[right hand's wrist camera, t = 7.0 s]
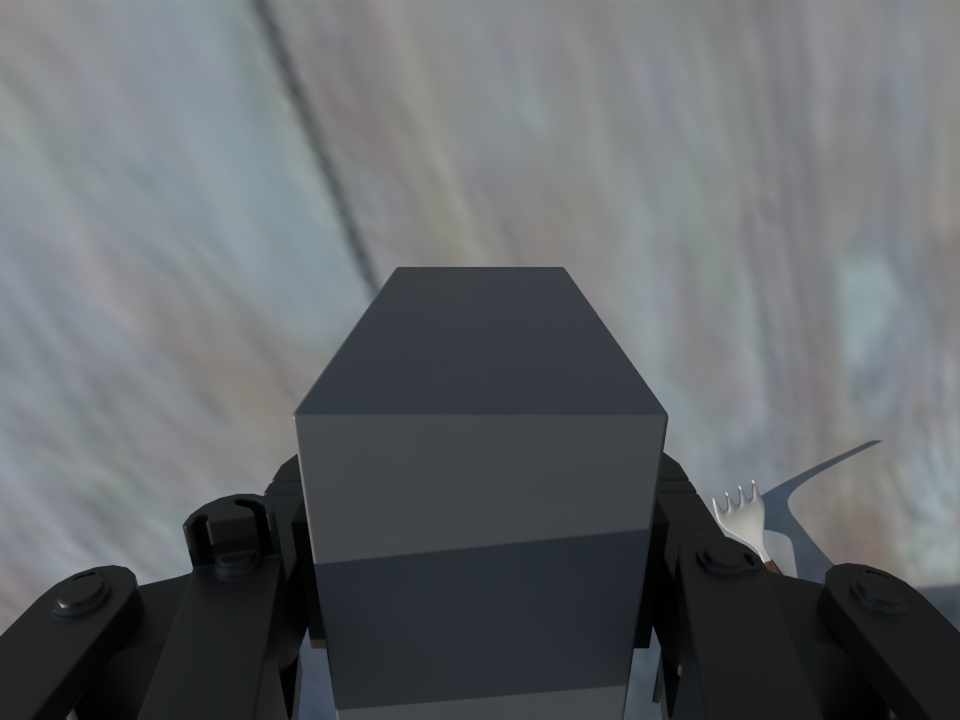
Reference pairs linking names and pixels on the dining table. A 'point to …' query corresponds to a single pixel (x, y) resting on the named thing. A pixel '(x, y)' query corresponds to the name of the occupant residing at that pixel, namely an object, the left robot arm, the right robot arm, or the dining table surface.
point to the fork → (747, 522)
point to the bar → (480, 500)
